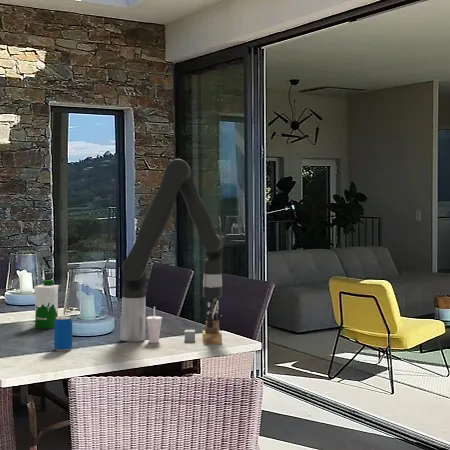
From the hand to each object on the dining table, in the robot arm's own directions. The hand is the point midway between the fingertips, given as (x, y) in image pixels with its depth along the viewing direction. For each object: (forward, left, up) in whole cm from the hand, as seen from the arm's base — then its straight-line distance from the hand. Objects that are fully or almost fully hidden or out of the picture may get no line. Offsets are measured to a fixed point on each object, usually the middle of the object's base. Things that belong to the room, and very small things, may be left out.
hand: (212, 325), depth 264 cm
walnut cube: (0, 0, -3) cm, 3 cm away
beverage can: (-51, -26, -6) cm, 58 cm away
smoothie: (-22, -6, -6) cm, 24 cm away
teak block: (0, 0, -7) cm, 7 cm away
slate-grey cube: (-9, 0, -6) cm, 11 cm away
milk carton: (-75, +11, -6) cm, 76 cm away
